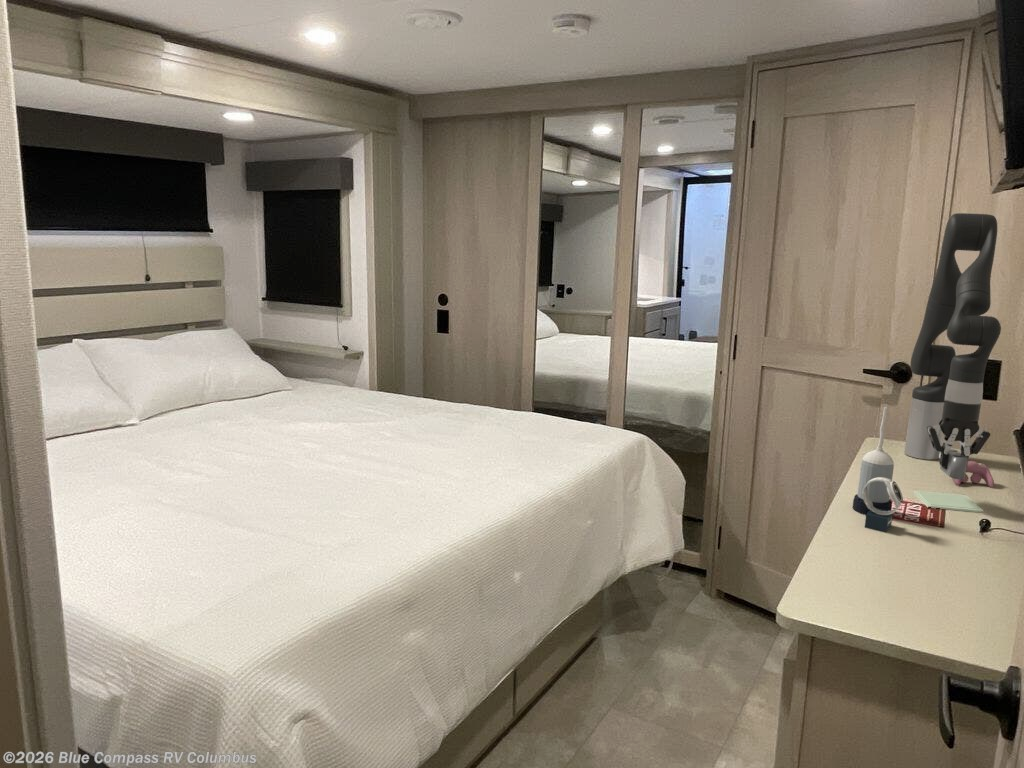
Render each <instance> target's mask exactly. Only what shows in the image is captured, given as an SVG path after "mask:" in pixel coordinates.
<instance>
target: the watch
mask: <svg viewBox="0 0 1024 768" xmlns="http://www.w3.org/2000/svg"><path fill="white" fill-rule="evenodd" d="M874 481H883V482H885V485H886V486H887V491H888V494H889V497H890V498H889V499H890V500H891V502H892V503H893V504H894V506H895V508H894V509H891V511H887V510H882V509H878V508H874V506H873V503H872V502H871V500H870V497H869V494H868V490H867V489H868V488H867V485H868V484H869V483H871V482H874ZM862 495H863V499H864V502H865V504H866V506H867V508H868V509H870V510H869V511H868V513H867V514H866V515H865V521H864V522H865V523H864V528H866V529H869V530H874V531H879V532H881V533H887V531H888V530H889V529H890V527H891V526H892V523H893V522H892V521H893V516H894V514H895V512H896V511H897V510H898V509H899V508H900V506H901V504H903V502H904V498H903V494H902V491H901V488H900V487H899V485H898V483H896V481H893V480H892V481H891V480H890V479H888V478H884V477H877V478H873V479H871V480H870V481H869V482H868V483H867V484H866V485H865V486H864V488H863V492H862Z"/></svg>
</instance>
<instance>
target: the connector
mask: <svg viewBox="0 0 1024 768" xmlns="http://www.w3.org/2000/svg"><path fill="white" fill-rule="evenodd" d="M940 455H941V452H940V454H939V459H940ZM948 455H949V459H948V466H947V469H943V468H942V466H941V465H940V468H939V469H940V470H941V471H942V472H943V473H944V474H946V475H947V476H948V477H950V478H951V479H952V478H954V479H965V474H967V472H966V466H967V460H968V461H969V458H967V457H966V456H964V455H963V454H961V451H959V450H957V449H954V448H951V449H950V452H949V454H948Z"/></svg>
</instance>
